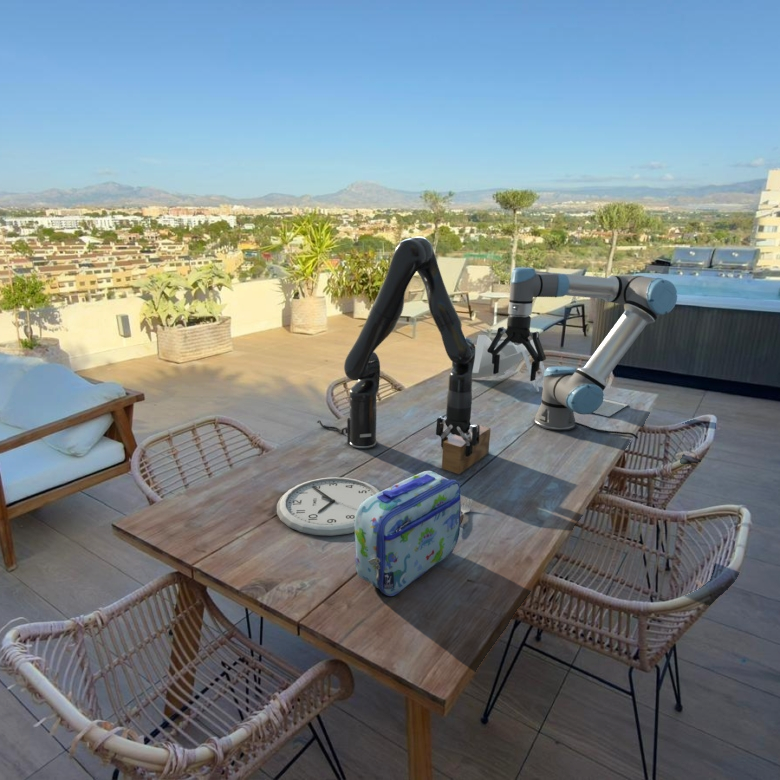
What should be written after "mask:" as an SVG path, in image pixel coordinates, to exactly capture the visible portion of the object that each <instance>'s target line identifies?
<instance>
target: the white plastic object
mask: <svg viewBox="0 0 780 780" xmlns="http://www.w3.org/2000/svg"><path fill="white" fill-rule="evenodd" d="M528 339H529V337H528ZM504 340H505V339H503V340H499V342H498V344H497V345H496V347H495V349H496V348H497V347H498V346H499V345H500V344H501V343H502V342H503V341H504ZM529 340H530V343H531V345H532V346H533V348H534V349H535V351H536V348H535V345H534V342H533V339H529ZM492 341H493V340H492V339H491V338H490V337H489V336H488V335H487V334H478V335H477V340H476V344H475V360H474V366H473V371H472V379H479V378H487V377H495V378H499V377H501V376H504V375H505V373H506V372H507V371H508V370H510V369H511V368H512V367H514V366H515V365H517V364H518V363H520V362H521V361H522V360H523V359H524V363H525V366H526V369H527V372H528V375H529V378H530V377H531V367H532V362H531V359H530V357H529V356H531V355H530V353H529V352H528V350H527V349H526V347H525V346H524V345H523V344H522V343H521V344H515V343H512V342H511V341H510V342H509V343H508V344H507V345H506V346H505V347H504V348H503V349H502V350H501V351H500V352H499V353H498V354H499V355H500V360H499V373H496V374H493V369H494V364H492V354H491V353H489V352H488V351H487V350H488V348H489V347H490V345H491V343H492ZM495 349H494V350H495ZM536 352H537V351H536ZM498 354H497V355H498ZM537 354H538V353H537ZM539 370H540V372H541V374H542V378H543V379H544V373H545V370H546V367H545V364H544V361H540V365H539ZM531 384H532V386H533V387H534V389H535V390H536V392H539V391H540V390H539V389H540V388H539V385H538V382H537V378H535V380H533V381H531Z"/></svg>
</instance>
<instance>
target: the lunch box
mask: <svg viewBox="0 0 780 780" xmlns="http://www.w3.org/2000/svg"><path fill="white" fill-rule="evenodd" d="M380 491H381V492H379V493H377V494H375V495H373V496H371V497H369V498H367V499H366V500H364V501H363V502H362V504H361V505H360V506H359V508H358V510H357V513H356V516H355V532H354V543H355V545H354V546H355V548H354V551H355V552H354V553H355V570H356V573H357V577H359V578H360V579H361V580H362V581H363V580H364V581H365V582H367V583H369V584H371V585H373V586H374V587H375V588H377V589H379V591H380V592H381V593H382V594H384V595H386V596H387V597H394V596H396V595H398V594H399V593H400V592H402V591H403V590H404V589H405V588H407V587H408V586H409V585H410V584H412V583H413V582H414V581H416V580H417V579H418V578H421V576H423V575H424V574H425V573H427V572H428V571H429V570H430V569H431V568H432V567H434V566H435V565H437V564H438V563H440V562H442V561H443V560H445V559H446V558H448V557H449V556H450V555H451V554H452V552H453V551H454V550H455V548H456V545H457V544H458V540H459V537H460V529H461V525H460V516H461V507H462V504H461V485H460V483H459V482H458V481H457V480H456V479H449V478H446V477H444V476H442V475H440V474H439V473H437V472H434V471H432V470H425V471H422V472H419V473H417V474H415V475H413V476H410V477H408V478H406V479H403V480H401V481H400V482H398V483H395V484H393V485H392V486H389V487H387V488H385V489H384V490H380Z"/></svg>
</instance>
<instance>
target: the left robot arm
mask: <svg viewBox="0 0 780 780" xmlns="http://www.w3.org/2000/svg"><path fill="white" fill-rule="evenodd" d="M416 273H417V274H418V275H419V277H420V279H421V281H422V283H423V286H424V289H425V292H426V293H425V294H426V299H427V305H428V309H429V313H430V316H431V318H432V320H433V322H434V324H435V326H436V328H437V330H438V332H439V334H440V336H441V340H442V343H443V347H444V351H445V353H446V355H447V356H448V358H449V360H450V361H451V370H450V372H449V374H448V383H447V384H448V387H447V395H446V410H445V411H446V412H445V416H444V415H441V416H439V417H438V418H437V419H436V427H435V435H436V436H438V437H440V439H441V440H440V442H441V443H440V446H441V449H442V450H443V442H444V441H446V440H447V439H449V437H448V436H449V435H450V434H451V435H452V436H454V435H457V436H461V437H462V439H463V440H465V442H466V444H467V445H466V455H465V456H466V457H469V456H470V455H471V454H472V451H473V446H475V445H476V444H478V443H479V432H480V427H479V425H480V424H476V426H474V425H473V424H471V417H472V404H473V402H472V401H473V395H472V394H473V393H472V388H473V378H472V371H473V366H474V360H475V348H476V344H475V343H474V341H473V340H472V339H470V338H469V337H465V335H464V332H463V330H462V327H463V324H462V321H461V318H460V316H459V315H458V312H457V310H456V308H455V306H454V303H453V302H452V299H451V298H450V296H449V293H448V290H447V287H446V285H445V282H444V279H443V276H442V273H441V270H440V267H439V263H438V260H437V256H436V254H435V250H434V248H433V245H432V244H431V242H430V241H429V240H428V239H427V238H425V237H422V236H414V237H410V238H406V239H404V240H401V241H400V242H399V243H398V244H397V246H396V247H395V249H394V252H393V255H392V257H391V260H390V264H389V267H388V270H387V273H386V276H385V279H384V280H383V282H382V284H381V287H380V289H379V291H378V293H377V295H376V297H375V299H374V301H373V304H372V306H371V308H370V310H369V312H368V315H367V317H366V320H365V323H364V324H363V326H362V329H361V330H360V332H359V335H358V337H357V339H356V340H355V342H354V344H353V346H352V347H351V349H350V350H349V352H348V354H347V355H346V357H345V360H344V363H343V365H344V367H343V368H344V369H343V371H344V374H345V376H346V377H347V379H349V380H350V381H356V382H355V383H354V385H353V386H352V387H351V388H350V390H349V416H348V417H347V419H346V421H347V422H346V424H347V426H345V427H343V428H342V429H340V428H339V427H336V426H329V425H324V424H323V423H322V421H321V420H317V421H316V423H317V424H319V425H320V426H321V427H322V428H325V429H331V430H336V431H338V433H339V434H344V431H345V434H347V435H346V436H347V439H346V440H347V445H349V446H350V447H352V448H354V449H357V450H358V449H360V450H366V449H371V448H374V447H376V446H377V402H378V401H377V395H378V391H379V389H380V378H381V361H380V358H379V356H378V354H377V353H376V352H375V351H376V350H377V348H379V346H380V345H381V344H382V343H383V342H384V341H385V340H386V339H387V338H388V337H389V336H390V335H391V333H392V332H393V331H394V330H395V328H396V326H397V324H398V322H399V320H400V318H401V316H402V314H403V310H404V307H405V295H406V291H407V289H408V287H409V285H410V283H411V281H412V279H413V277H414V276H415V274H416ZM445 425H446V427H447V428H446V429H445V428H444V427H445ZM444 429H445V430H444ZM469 429H471V432H472V437H471V433H470V432H469ZM465 433H466V435H465Z"/></svg>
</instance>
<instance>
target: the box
mask: <svg viewBox="0 0 780 780" xmlns="http://www.w3.org/2000/svg"><path fill="white" fill-rule="evenodd" d="M472 425H474V426H476V425H477V424H476V423H472ZM478 425H479V427H480V432H479V443H478V444H476V445H475V446H473V451H472V454H471V455H470V456H469V457H466V456H465V455H466V445H467V444H466V442H465V440H463V439H462V437H461V436H457V435H452V436H450V437H448V439H447V440H446V441H444V442H443V449H442V455H441V457H442V458H441V459H442V460H441V469H442V470H444V471H448V472H451V473H454V474H457V475H460V474H462V473H463V472H464V471H466V470H467V469H468V468H470V467H471V466H473V465H474V464H475V463H477V462H479V461H480V460H481V459H483V458H484V457H485V456H487V455H489V452H490V439H491V427H489V426H484V425H481V424H478ZM469 432H470V433H471V437H472V432H471V429H469ZM465 435H466V433H465Z"/></svg>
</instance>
